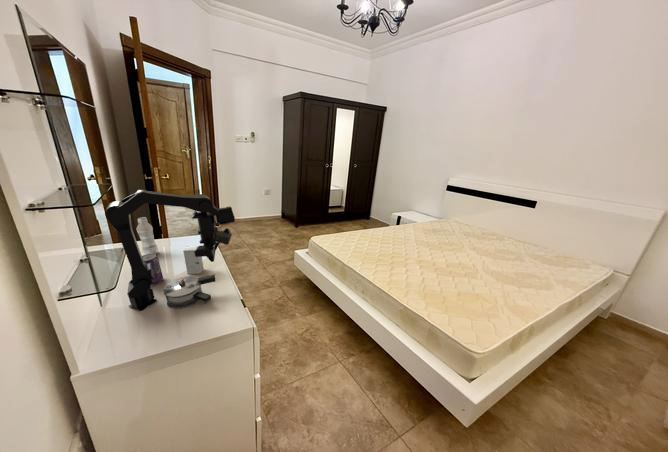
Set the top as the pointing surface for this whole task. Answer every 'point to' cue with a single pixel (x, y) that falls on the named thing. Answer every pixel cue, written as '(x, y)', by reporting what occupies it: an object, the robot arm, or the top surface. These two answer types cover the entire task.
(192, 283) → the lid
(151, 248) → the plastic bottle
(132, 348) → the top surface
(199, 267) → the skincare box
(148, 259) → the beverage can
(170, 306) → the pot
